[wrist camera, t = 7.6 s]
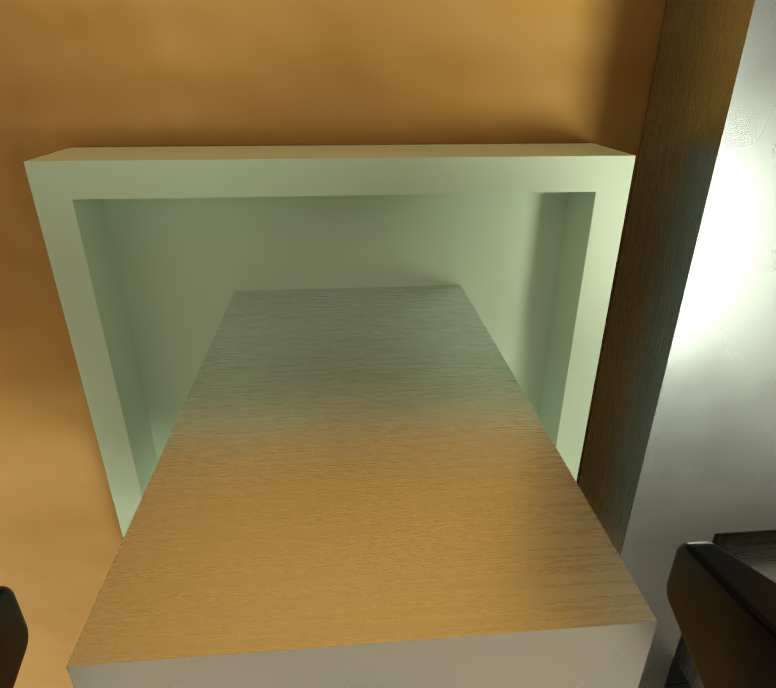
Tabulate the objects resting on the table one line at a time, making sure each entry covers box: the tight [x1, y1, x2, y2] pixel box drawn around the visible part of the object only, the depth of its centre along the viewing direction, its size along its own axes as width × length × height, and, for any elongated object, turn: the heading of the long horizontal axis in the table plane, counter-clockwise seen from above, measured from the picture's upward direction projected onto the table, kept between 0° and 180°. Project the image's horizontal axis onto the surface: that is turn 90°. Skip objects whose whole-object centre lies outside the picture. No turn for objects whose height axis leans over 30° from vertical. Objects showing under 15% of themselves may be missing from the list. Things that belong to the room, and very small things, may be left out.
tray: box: [24, 143, 636, 539], centre depth 12 cm, size 10×10×2 cm
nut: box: [66, 285, 658, 688], centre depth 9 cm, size 5×5×8 cm
